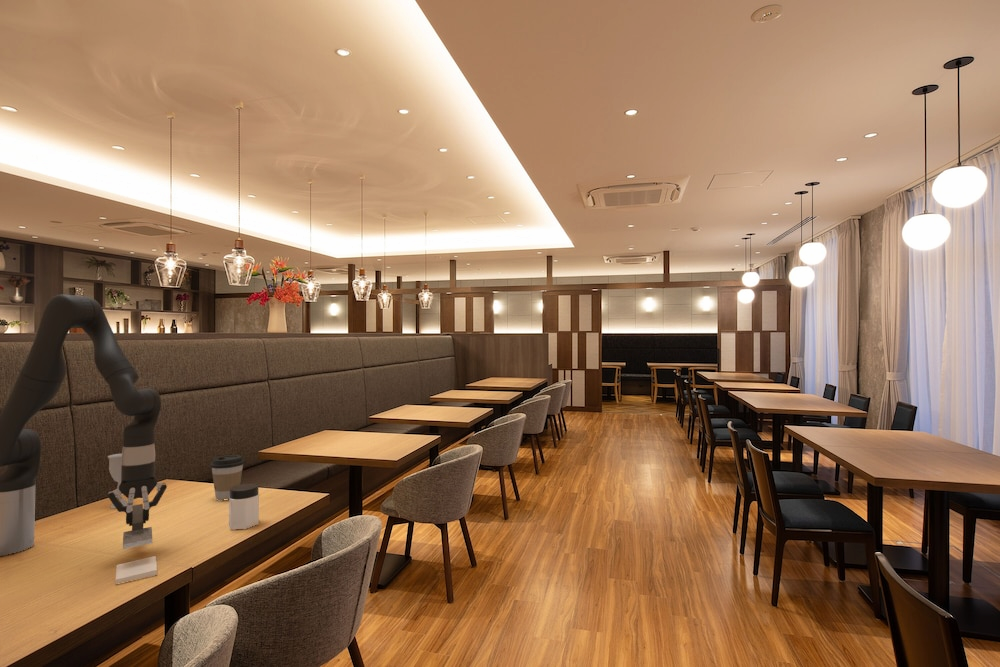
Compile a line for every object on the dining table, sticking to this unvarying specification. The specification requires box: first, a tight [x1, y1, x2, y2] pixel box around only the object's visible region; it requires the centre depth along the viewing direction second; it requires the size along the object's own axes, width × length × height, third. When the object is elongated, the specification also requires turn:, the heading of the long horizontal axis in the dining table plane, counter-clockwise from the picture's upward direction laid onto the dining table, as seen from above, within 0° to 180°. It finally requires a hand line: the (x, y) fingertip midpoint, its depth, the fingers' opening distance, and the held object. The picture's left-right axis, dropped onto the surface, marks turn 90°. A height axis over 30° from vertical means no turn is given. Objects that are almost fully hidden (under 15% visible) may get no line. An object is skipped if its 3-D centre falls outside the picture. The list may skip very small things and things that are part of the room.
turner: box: [122, 503, 153, 550], centre depth 130 cm, size 22×6×3 cm, turn 38°
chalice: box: [107, 453, 128, 509], centre depth 170 cm, size 7×7×18 cm
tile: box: [115, 555, 158, 585], centre depth 119 cm, size 8×2×10 cm
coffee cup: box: [209, 454, 245, 501], centre depth 179 cm, size 11×11×15 cm
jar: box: [228, 483, 260, 531], centre depth 151 cm, size 9×8×12 cm
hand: (137, 523), depth 132 cm, fingers closed on turner, 2 cm apart
